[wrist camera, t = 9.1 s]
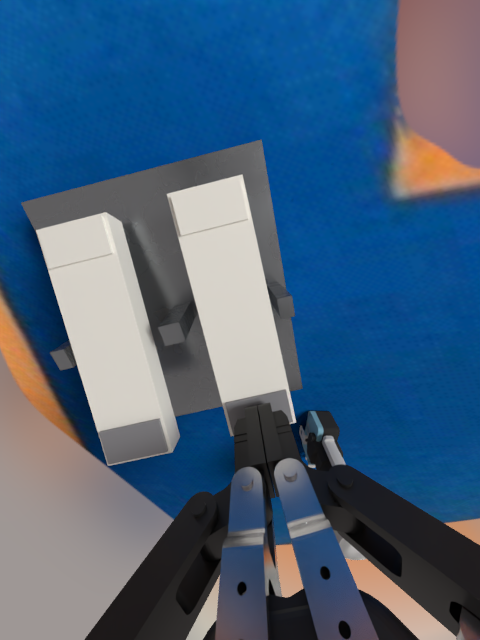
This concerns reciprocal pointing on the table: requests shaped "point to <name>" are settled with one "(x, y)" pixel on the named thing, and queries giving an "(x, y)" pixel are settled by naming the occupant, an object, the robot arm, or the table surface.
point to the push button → (325, 457)
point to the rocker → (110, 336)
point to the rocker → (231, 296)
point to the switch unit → (179, 262)
